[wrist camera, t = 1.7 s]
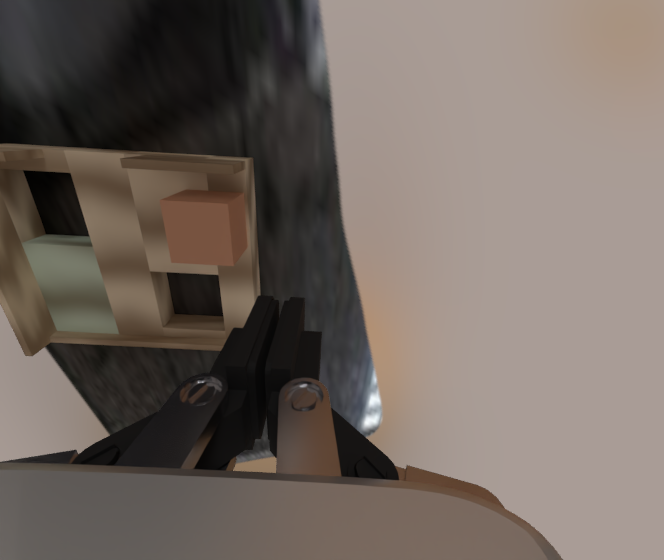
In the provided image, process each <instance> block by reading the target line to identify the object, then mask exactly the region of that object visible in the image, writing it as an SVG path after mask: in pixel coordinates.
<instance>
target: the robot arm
mask: <svg viewBox="0 0 664 560" xmlns="http://www.w3.org/2000/svg"><path fill="white" fill-rule="evenodd" d="M304 319H305V298H297V297H290V300H289V301H284V304H283V308H282V311H281V314H280V318H279V301H278V300H274V298H273V296H258V297H257V299H256V301H255V303H254V306H253V308H252V310H251V312H250V314H249V316H248V318H247V321H246V323H245V325H244V327H243V328H236V327H235V328H233V329H232V331H231V333H230V334H229V336H228V338H227V340H226V342H225V344H224V346H223V348H222V350H221V352H220V354H219V356H218V358H217V359H216V361H215V363H214V365H213V367H212V369H211V371H210V373H202V374H198V375H195V376H192V377H190V378H188V379H187V380H185V381H183V382H182V383H181V384H180V385H179V386H178V387H177V389H176V390H175V391H174V392H173V394H172V395H171V396H170V397H169V398H168V400H167V401H166V402H165V403H164V405H163V406H162V407H161V408H160V410H159V411H158V412H156V413H154V414H152V415H150V416H148V417H146V418H144V419H142V420H140V421H138V422H136V423H134V424H132V425H130V426H128V427H126V428H124V429H122V430H120V431H118V432H116V433H114V434H112V435H110V436H108V437H106V438H104V439H102V440H100V441H98V442H96V443H95V444H93V445H91V446H90V447H88V448H87V449H85V450H84V451H83V452H81V453H80V454H78V453H77V450H72V451H66V452H59V453H53V454H47V455H40V456H34V457H28V458H22V459H16V460H9V461H3V462H0V560H563V559H562V558H561V556H560V555H559V554H558V552H557V551H556V550H555V548H554V547H553V546H552V545H551V544H550V543H549V542H548V541H547V540H546V539H545V537H544V536H543V535H542V534H541V533H539V531H537V530H536V529H535V528H534V527H532V526H531V525H530V524H529V523H527V522H526V521H525V520H523V519H521V518H520V517H518V516H517V515H515V514H513V513H512V512H510V511H508V510H506V509H505V508H504V506H503V505H502V504H501V502H500V501H499V500H498V498H497V497H496V496H494V495H493V494H492V493H491V492H489V491H488V490H486V489H485V488H483V487H480V486H478V485H475V484H472V483H468V482H464V481H461V480H458V479H454V478H451V477H447V476H444V475H440V474H437V473H433V472H429V471H426V470H422V469H419V468H415V467H412V466H408V465H407V467H406V469H404V468H400V467H397V466H395V465H394V464H393V462H392V461H391V460H390V459H389V458H388V457H387V456H386V455H385V454H384V453H383V452H382V451H380V450H379V449H378V448H377V447H376V446H375V445H373V444H372V443H371V442H370V441H369V440H368V439H367V438H365V437H364V436H363V435H362V434H361V433H360V432H359V431H357V430H356V429H355V428H354V427H353V426H352V425H351V424H349V423H348V422H347V421H346V420H345V419H344V418H343V417H341V416H340V415H339V414H338V413H337V412H336V411H334V410H333V409H332V408H331V405H330V399H329V393H328V391H327V388H326V387H325V386H324V385H323V384H322V383H321V382H319V374H320V358H321V338H322V332H314V331H304ZM266 416H267V427H268V439H269V441H270V451H271V452H272V454H273V455H274V456H275V457H276V458H277V465H276V473H263V472H241V471H233V469H234V467H235V464H236V460H237V458H236V456H237V455H238V454H240V453H241V452H243V451H244V450H253V446H254V442H255V439H261V437H262V433H263V429H264V425H265V420H266Z"/></svg>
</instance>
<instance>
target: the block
mask: <svg viewBox="0 0 664 560" xmlns="http://www.w3.org/2000/svg"><path fill="white" fill-rule="evenodd" d="M160 206H161V211H162V216H163V221H164V227H165V232H166V237H167V242H168V248H169V253H170V258H171V263H184V264H203V265H222V266H234V265H235V264H236V262H237V261H238V260H239V258H240V257H241V256H242V254H243V253H244V251H245V250H246V249H247V247H248V244H247V230H246V216H245V201H244V193H240V192H223V191H205V190H188V189H186V190H183V191H181V192H178V193H176V194H173V195H171V196H168V197H166V198H163V199H161V200H160Z"/></svg>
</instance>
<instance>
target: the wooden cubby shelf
mask: <svg viewBox="0 0 664 560" xmlns="http://www.w3.org/2000/svg"><path fill="white" fill-rule="evenodd" d="M23 170H29V171H47V172H64V173H71V176H72V180H73V183H74V186H75V189H76V193H77V196H78V199H79V203H80V206H81V209H82V213H83V216H84V219H85V223H86V226H87V229H88V232H89V236H72V235H53V234H46V232H45V229H44V227H43V224H42V221H41V218H40V216H39V213H38V210H37V207H36V205H35V202H34V199H33V197H32V194H31V191H30V188H29V186H28V183H27V180H26V177H25V175H24V172H23ZM186 189H188V190H205V191H223V192H240V193H244V201H245V216H246V230H247V244H248V247H247V249H246V250H245V251H244V253H243V254H242V256H241V257H240V258H239V260H238V261H237V262H236V264H235V265H234V266H222V265H203V264H184V263H171V258H170V253H169V248H168V242H167V237H166V232H165V227H164V221H163V216H162V211H161V206H160V200H161V199H163V198H166V197H168V196H171V195H173V194H176V193H178V192H181V191H183V190H186ZM167 272H173V273H191V274H210V275H219V284H220V292H221V300H222V309H223V316H205V315H185V314H175V312H174V307H173V302H172V297H171V292H170V287H169V282H168V277H167ZM258 296H261V294H260V275H259V257H258V239H257V221H256V202H255V184H254V166H253V158H247V157H230V156H212V155H195V154H178V153H161V152H144V151H127V150H109V149H92V148H75V147H58V146H41V145H23V144H6V143H5V144H0V304H1V306H2V308H3V310H4V312H5V314H6V316H7V318H8V320H9V323H10V325H11V327H12V328H13V331H14V333H15V335H16V337H17V339H18V341H19V343H20V345H21V347H22V350H23V352H24V354H25V355H26V356H33V355H34V354H36V353H37V352H39V351H40V350H41V349H42V348H44V347H45V346H47V345H48V344H49V343H51V342H55V343H75V344H95V345H115V346H135V347H154V348H174V349H194V350H214V351H221V350H222V348H223V346H224V344H225V342H226V340H227V338H228V336H229V334H230V333H231V331H232V329H233V328H235V327H236V328H243V327H244V325H245V323H246V321H247V318H248V316H249V314H250V312H251V310H252V308H253V306H254V303H255V301H256V299H257V297H258Z"/></svg>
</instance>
